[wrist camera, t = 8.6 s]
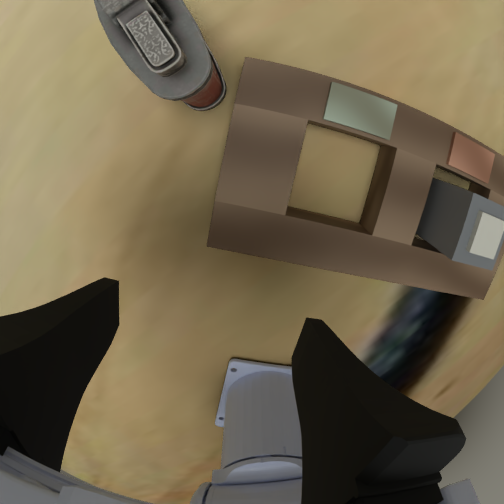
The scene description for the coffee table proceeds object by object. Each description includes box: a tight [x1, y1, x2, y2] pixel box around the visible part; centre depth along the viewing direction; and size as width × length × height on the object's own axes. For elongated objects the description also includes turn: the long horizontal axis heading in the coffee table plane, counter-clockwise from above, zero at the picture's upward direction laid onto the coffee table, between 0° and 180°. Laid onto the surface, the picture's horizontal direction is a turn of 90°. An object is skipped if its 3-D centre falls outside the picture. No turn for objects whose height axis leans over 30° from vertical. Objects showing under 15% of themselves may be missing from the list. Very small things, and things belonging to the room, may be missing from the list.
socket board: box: [207, 57, 504, 300], centre depth 18 cm, size 11×22×3 cm, turn 78°
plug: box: [416, 178, 504, 271], centre depth 17 cm, size 4×4×6 cm
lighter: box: [94, 0, 227, 111], centre depth 11 cm, size 8×3×10 cm, turn 30°
